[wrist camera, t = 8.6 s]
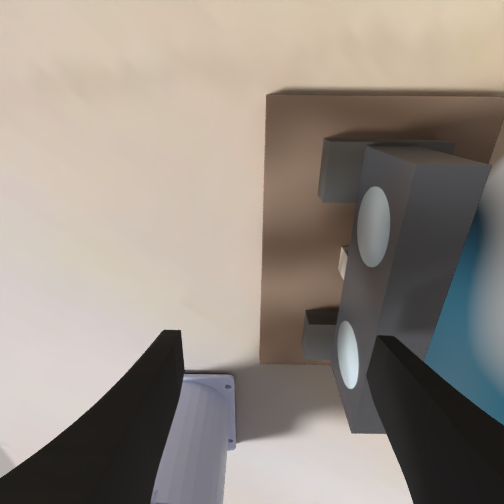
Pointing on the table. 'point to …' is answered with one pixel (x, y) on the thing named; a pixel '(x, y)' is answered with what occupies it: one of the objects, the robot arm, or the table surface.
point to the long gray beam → (400, 260)
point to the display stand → (338, 197)
